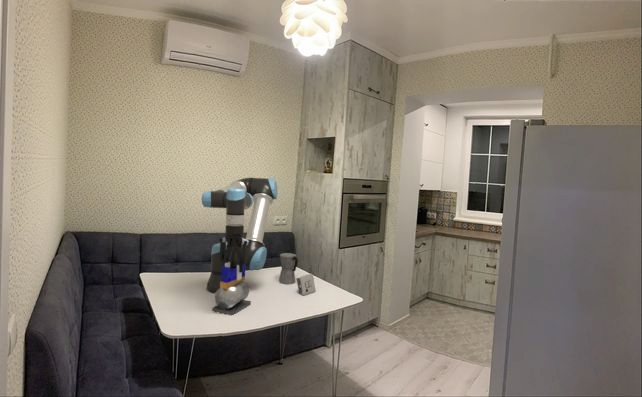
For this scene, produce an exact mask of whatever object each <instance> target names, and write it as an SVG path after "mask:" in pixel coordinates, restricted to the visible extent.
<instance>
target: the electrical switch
mask: <svg viewBox="0 0 642 397" xmlns="http://www.w3.org/2000/svg"><path fill="white" fill-rule="evenodd" d="M296 282H297V283H296V284H297V288H298V290H297V291H298V294H299V295H302V296H306V295H310V294H312V293H315V292H316V287H315V286H316V284H315V280H314V274H313V273H307V274H305V275H301V276H299V277H297V278H296Z"/></svg>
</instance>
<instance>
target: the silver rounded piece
mask: <svg viewBox="0 0 642 397" xmlns="http://www.w3.org/2000/svg"><path fill="white" fill-rule="evenodd" d="M245 279H246V275H245V276H244V277H242V279H240V280H237V279H236V280H233V281H231V282H228V283H226V282H220V289H218V290H217V292H216V293H214V294H215V295H214V300H215V301H214V302H215V303H216V305H215V306H214V307H212V308H211V311H214V312H213V313H217V312H219V313H218V314H222V313H224V314H223V315H227V314H228V316H232V315H233V316H235V315H236V314H238V313H240V312H241V311H242V310H244V309H246V308H247V307H249V306H251V305H252V303H251V302H252V301H251V300H248V299H247V298H248V296H249V294H250V286H249V285H248V284H247V282H245ZM234 314H235V315H234Z"/></svg>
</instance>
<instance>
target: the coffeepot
mask: <svg viewBox="0 0 642 397" xmlns="http://www.w3.org/2000/svg"><path fill="white" fill-rule="evenodd" d="M279 258H280V259H279V260H280V266H281V270H280V274H279V280H278V282H279V284H283V285H293V284H295V283H296V277H295V276H296V275H295V271H296V270H297V265H298V262H299V259H298V257H297V254H295V253H291V250H290V249H287V250H286V252H284V253H280V254H279Z"/></svg>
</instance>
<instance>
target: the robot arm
mask: <svg viewBox="0 0 642 397" xmlns="http://www.w3.org/2000/svg"><path fill="white" fill-rule="evenodd" d="M277 199H278V185H277V181H276V179H275V178H268V177H267V178H264V177H263V178H262V177H244V178H240V179H237V180H234V181H232V183H230V185H227V186H225V187H222V188H220V189H217V190H206V191H203V193H202V194H201V204H202V206H203V207H204V208H210V209H215V208H216V209H226V210H225V215H226V216H225V224H226V225H225V236H224V237H220V238H219V243H215V244H213V245H212V246H211V247H212V248H211V253H210V257H211V259H210V276H209V278H208V281H207V282H206V283H207V284H206V291H207V292H209V293H213V294H216V292H217V290H218V289H220V282H221V280H222V267H230V271H231V272H232V270H233V269H235V268H237V280H240V279H242V272H243V268H244V264H246V267H245V271H247V270H248V271H260V270H262V269H263V267H264V265H265V263H266V259H267V254H268V251H267V248H266V247H265V244H264V242H263V240H264V236H265V230H266V224H267V220H268V219H267V218H268V215H269V214H268V213H269V209H270V206H271V205H272V204H273V203H274V200H277ZM251 207H252V209H251V210H252V211H251V215H250V219H249V223H248V227H247V233H246V236H245V237H244V232H245V231H244V230H245V226H244V224H245V210H248V209H249V208H251ZM238 263H239V264H238Z"/></svg>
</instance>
